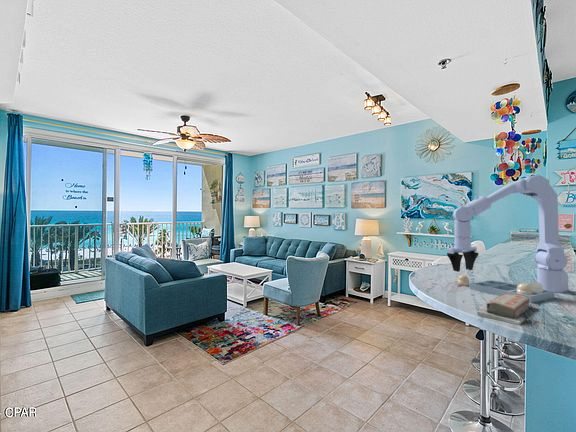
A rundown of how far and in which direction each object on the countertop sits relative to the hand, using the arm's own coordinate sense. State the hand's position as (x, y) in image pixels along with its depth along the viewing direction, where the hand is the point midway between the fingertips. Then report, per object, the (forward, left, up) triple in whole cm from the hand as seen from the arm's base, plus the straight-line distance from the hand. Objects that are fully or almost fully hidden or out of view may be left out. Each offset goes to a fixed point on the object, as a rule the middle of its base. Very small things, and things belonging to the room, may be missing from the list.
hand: (462, 270), depth 114 cm
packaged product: (+18, +26, -8) cm, 32 cm away
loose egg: (0, 0, -7) cm, 7 cm away
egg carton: (-3, +15, -7) cm, 17 cm away
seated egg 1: (0, +21, -6) cm, 22 cm away
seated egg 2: (-6, +21, -6) cm, 23 cm away
